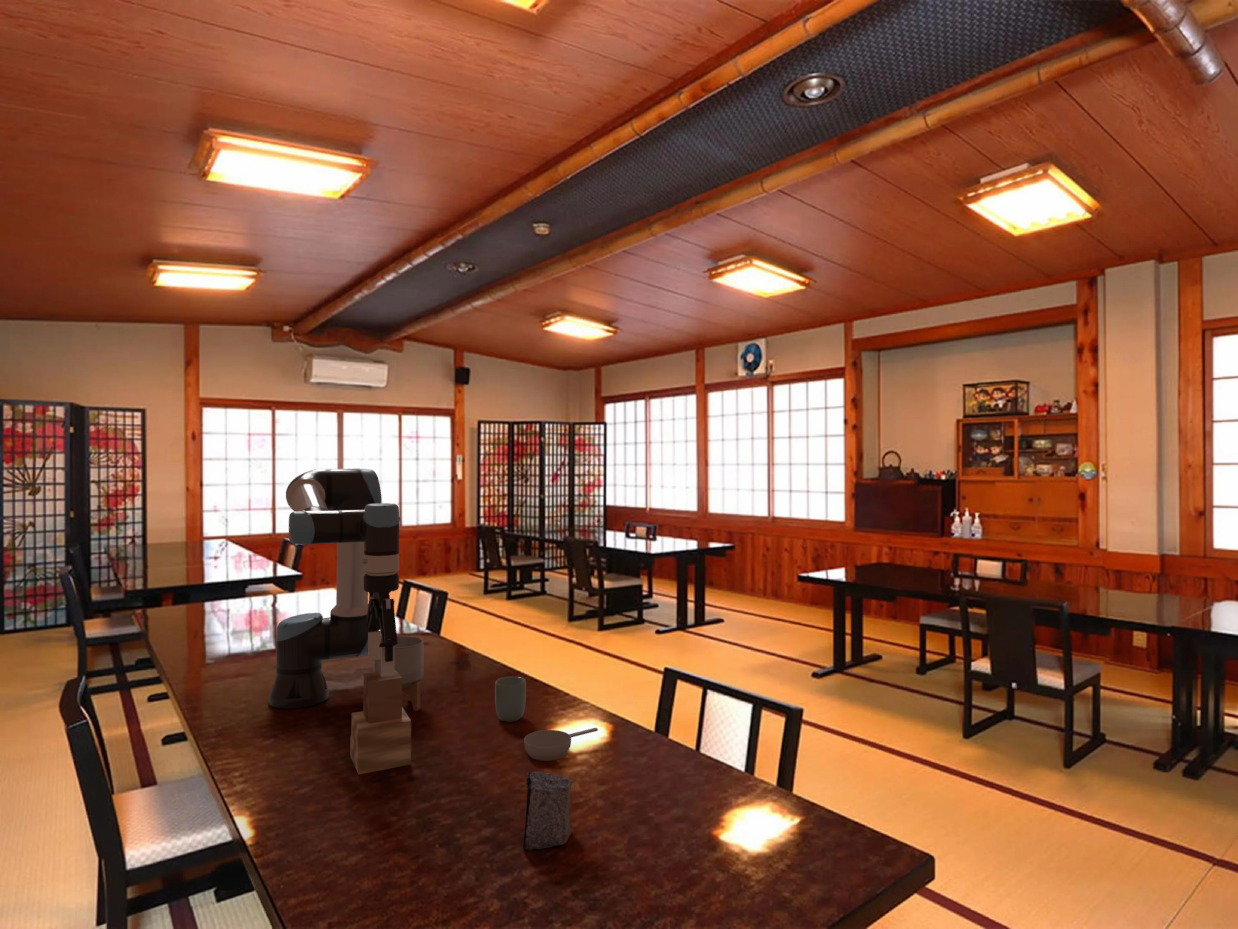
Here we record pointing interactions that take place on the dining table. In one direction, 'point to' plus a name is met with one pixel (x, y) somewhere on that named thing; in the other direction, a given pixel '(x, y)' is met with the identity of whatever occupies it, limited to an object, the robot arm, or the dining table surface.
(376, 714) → the walnut block
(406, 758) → the tower lower
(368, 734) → the tower upper
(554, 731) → the saucepan
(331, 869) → the dining table surface
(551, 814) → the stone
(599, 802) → the dining table surface
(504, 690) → the cup
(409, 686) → the planter
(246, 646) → the dining table surface
